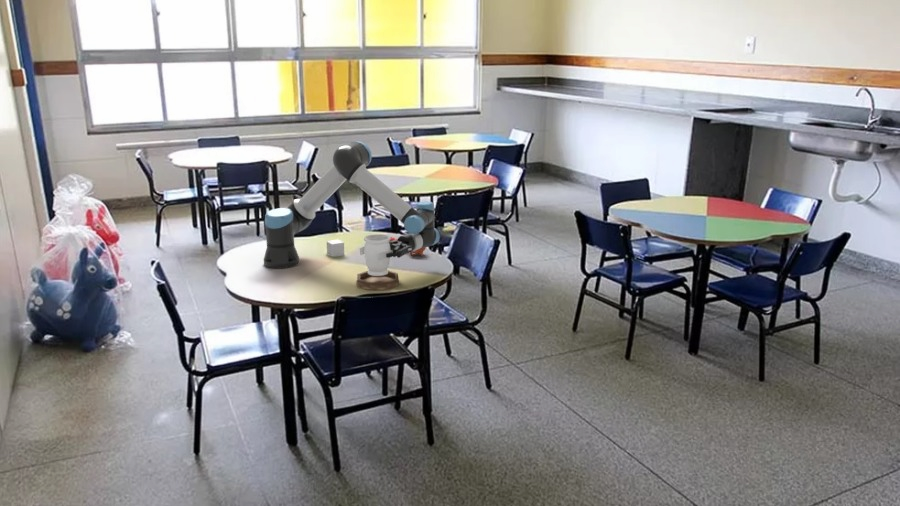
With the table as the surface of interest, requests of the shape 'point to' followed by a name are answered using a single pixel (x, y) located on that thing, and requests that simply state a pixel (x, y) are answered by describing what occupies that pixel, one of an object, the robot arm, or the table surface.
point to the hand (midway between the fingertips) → (369, 254)
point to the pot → (418, 251)
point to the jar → (376, 254)
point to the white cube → (335, 248)
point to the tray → (377, 281)
